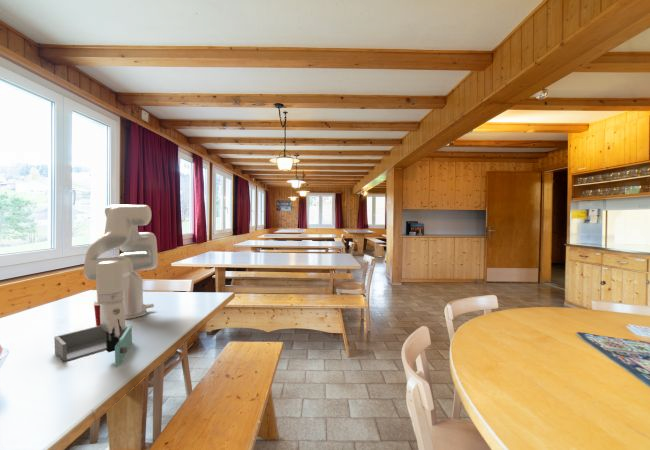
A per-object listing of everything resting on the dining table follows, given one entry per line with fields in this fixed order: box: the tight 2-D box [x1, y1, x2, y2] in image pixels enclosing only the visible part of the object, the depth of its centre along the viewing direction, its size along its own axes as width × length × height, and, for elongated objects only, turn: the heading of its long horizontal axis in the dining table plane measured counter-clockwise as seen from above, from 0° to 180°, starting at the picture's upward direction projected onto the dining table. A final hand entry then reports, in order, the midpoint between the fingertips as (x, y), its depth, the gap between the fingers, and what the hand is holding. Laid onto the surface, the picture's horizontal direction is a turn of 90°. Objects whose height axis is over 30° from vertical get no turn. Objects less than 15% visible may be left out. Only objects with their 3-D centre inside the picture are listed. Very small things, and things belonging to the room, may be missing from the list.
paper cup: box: [92, 299, 101, 327], centre depth 131 cm, size 8×8×14 cm
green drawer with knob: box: [114, 325, 133, 367], centre depth 110 cm, size 21×3×6 cm, turn 22°
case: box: [53, 325, 128, 363], centre depth 115 cm, size 20×12×6 cm, turn 141°
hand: (112, 350), depth 105 cm, fingers closed
